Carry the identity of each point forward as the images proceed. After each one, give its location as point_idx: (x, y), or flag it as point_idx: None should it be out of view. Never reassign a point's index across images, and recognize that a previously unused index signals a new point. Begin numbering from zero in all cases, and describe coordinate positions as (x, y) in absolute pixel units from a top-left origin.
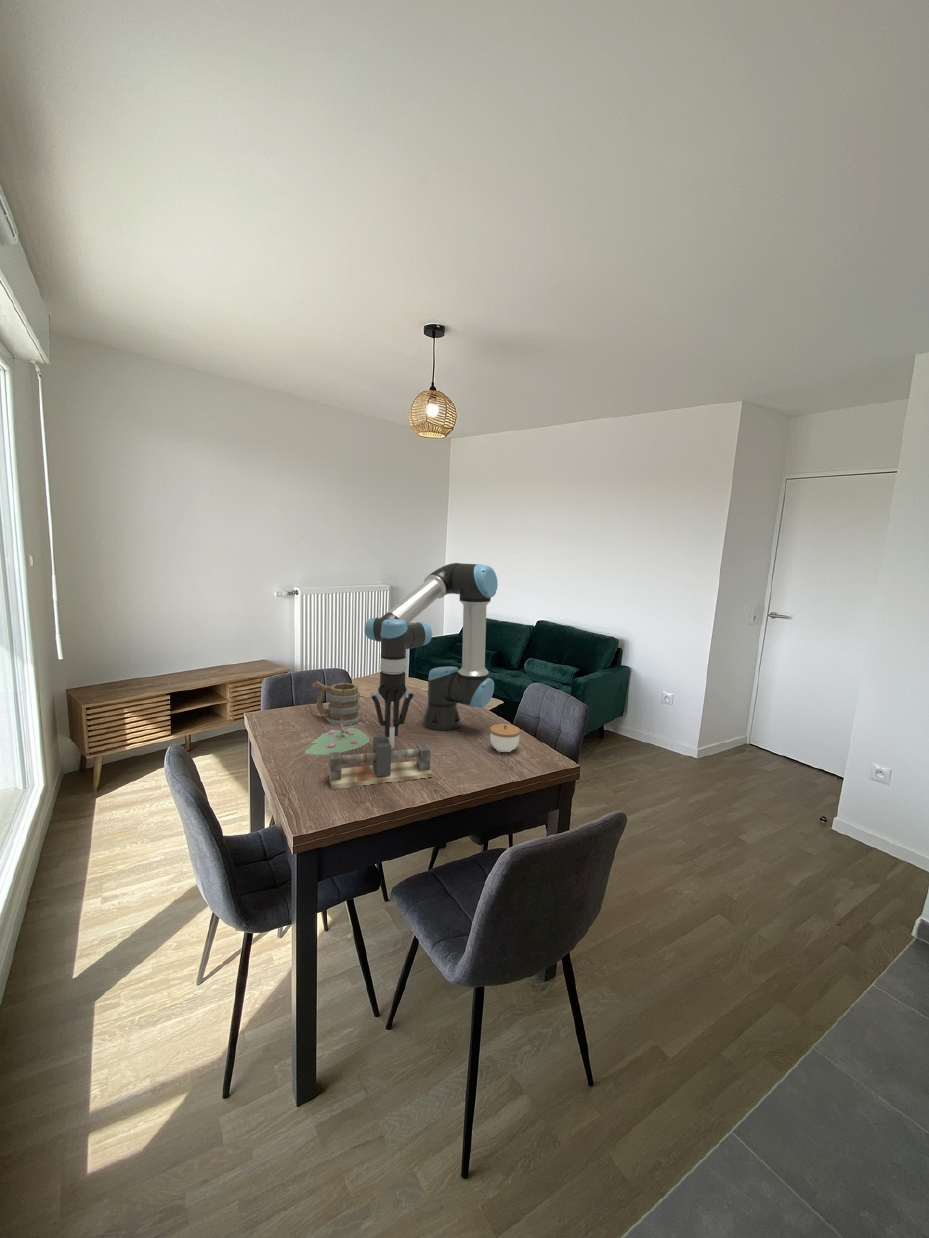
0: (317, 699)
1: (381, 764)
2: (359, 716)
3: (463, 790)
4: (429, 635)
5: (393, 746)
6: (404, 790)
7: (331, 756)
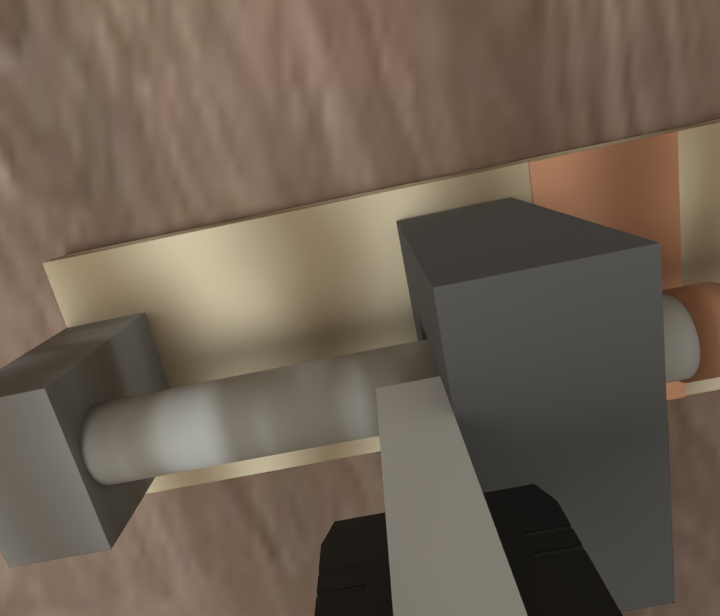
0: None
1: (505, 218)
2: None
3: None
4: None
5: (386, 397)
6: (278, 36)
7: None
